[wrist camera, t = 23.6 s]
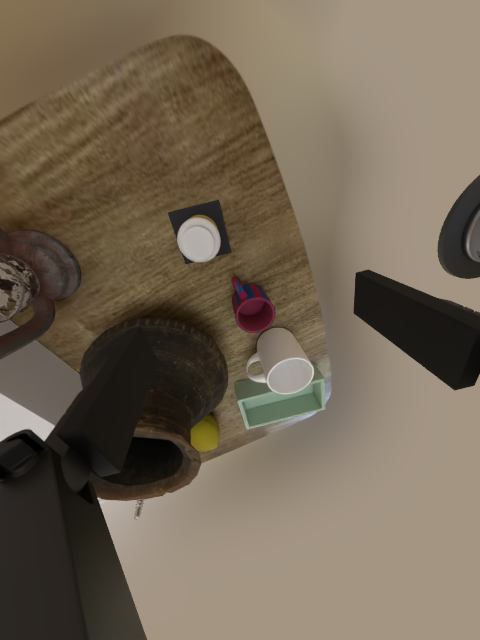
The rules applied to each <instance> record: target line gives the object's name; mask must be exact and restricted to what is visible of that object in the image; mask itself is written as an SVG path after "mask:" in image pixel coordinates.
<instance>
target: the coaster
mask: <svg viewBox="0 0 480 640" xmlns="http://www.w3.org/2000/svg"><path fill="white" fill-rule="evenodd" d="M168 214H169V217H170V220H171V223H172V226H173V229H174V232H175V234H176V237H177V236H178V231H179V229H180V227H181V225H182V224H183V223H184V222H185V221H187V220H188V219H189V218H191V217H193V216H195V215H204V216H207V217H209V218H211V219H212V220H213V221H214V223H215V224H216V226H217V228H218V231H219V235H220V240H221V243H220V248H219V251H218V253H217V254H216V256H219V255H223V254H227V253H231V250H230V245H229V241H228V237H227V233H226V228H225V224H224V220H223V216H222V211H221V207H220V203H219V200H217V201H213V202H209V203H205V204H201V205H197V206H193V207H189V208H185V209H181V210H177V211H173V212H169V213H168ZM182 255H183V253H182ZM183 257H184V260H185V263H186V264H188V263H192V262H194V261H192V260H190V259H188V258H187V257H185V256H184V255H183Z"/></svg>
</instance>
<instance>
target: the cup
mask: <svg viewBox="0 0 480 640" xmlns="http://www.w3.org/2000/svg"><path fill="white" fill-rule="evenodd" d="M231 281H232V283H233V286H234V287H235V289H236V291H235V292H234V294H233V297H232V304H233V309H234V313H235V318H236V322H237V324H238V326H239V327H240V328H241V329H242V330H244V331H246V332H249V333H258V332H261V331H264V330H265V329H267V328H268V327H269V326H270V325H271V324H272V323H273V321H274V318H275V308H274V306H273V304H272V303H271V301H270V299H269V298H268V296H267V295H266V293H265V291H264V290H263V289H262V288H261V287H260V286H258V285H256V284H245V285H243V284H242V283H241V281H240V280H239V278H238V277H237V276H234V277H233V278H231Z"/></svg>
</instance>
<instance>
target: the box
mask: <svg viewBox="0 0 480 640" xmlns="http://www.w3.org/2000/svg"><path fill="white" fill-rule="evenodd" d="M0 315H3V314H2V313H1V312H0ZM3 316H4V315H3ZM1 319H2V320H0V321H4V320H6V318H5V316H4V318H1ZM3 319H4V320H3ZM18 327H19V326H17V325H16V324H15V323H14V322H12V321H11V320H10V319H9V320H7V321H5V322H1V324H0V336H2V335H4V334H6V333H8V332H10V331H12V330H14V329H16V328H18ZM82 390H83V388H82V383H81V378H80V374H79V373H78V372H77V371H75V370H74V369H73V368H72V367H70V366H69V365H68V364H66V363H65V362H64V361H63V360H61V359H60V358H59V357H57V356H56V355H55V354H53V353H52V352H51V351H50V350H48V349H47V348H46V347H44V346H43V345H42V344H41V343H39V342H38V341H37V340H34V341H33V342H31V343H29V344H28V345H26V346H24V347H23V348H21V349H19V350H17V351H15V352H14V353H12V354H10V355H8V356H6V357H4V358H2V359H1V360H0V442H1V441H2V440H4V439H5V438H7V437H8V436H10V435H12V434H14V433H16V432H18V431H21V430H24V429H31V430H32V431H33V432H34V433H35V434H37V435H38V436H39V437H40V438H41V439H42V440H43V441H45V440H46V438H47V437H48V435H49V434H50V433H51V431H52V430H53V428H54V427H55V426H56V424H57V423H58V421H59V420H60V419H61V417H62V416H63V414H65V413H66V410H67V409H68V407H69V406H70V405H72V402H73V400H74V399H75V398H76V396H77V395H78V393H79V392H80V391H82Z"/></svg>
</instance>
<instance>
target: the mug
mask: <svg viewBox="0 0 480 640" xmlns="http://www.w3.org/2000/svg"><path fill="white" fill-rule="evenodd" d="M256 361H260V362H261V365H262V369H263V373H261V374H258V375H251V374H249V372H248V367H249V366H250V364H252V363H253V362H256ZM246 373H247V376H248V377H249V378H250V379H251V380H253V381H256V382H263V383H267V384H268V386H269V388H270V389H271V390H272V391H274V392H276V393H278V394H292V393H296V392H298V391H300V390H302V389H304V388H305V387H306V386H307V385H308V384H309V383H310V382H311V380H312V378H313V376H314V368H313V366H312V364H311V362H310V361H309V359H308V358H307V356H306V355H305V353H304V351H303V350H302V348H301V347H300V345H299V344H298V342H297V340H296V339H295V337H294V336H293V334H292V333H291V332H290V331H288V330H287V329H284V328H272V329H269V330H267V331H265V332H264V333H263V334H262V335H261V336H260V337H259V339H258V341H257V353H255V354H254V355H252V356H251V357H250V359H249V360H248V362H247V364H246Z"/></svg>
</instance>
